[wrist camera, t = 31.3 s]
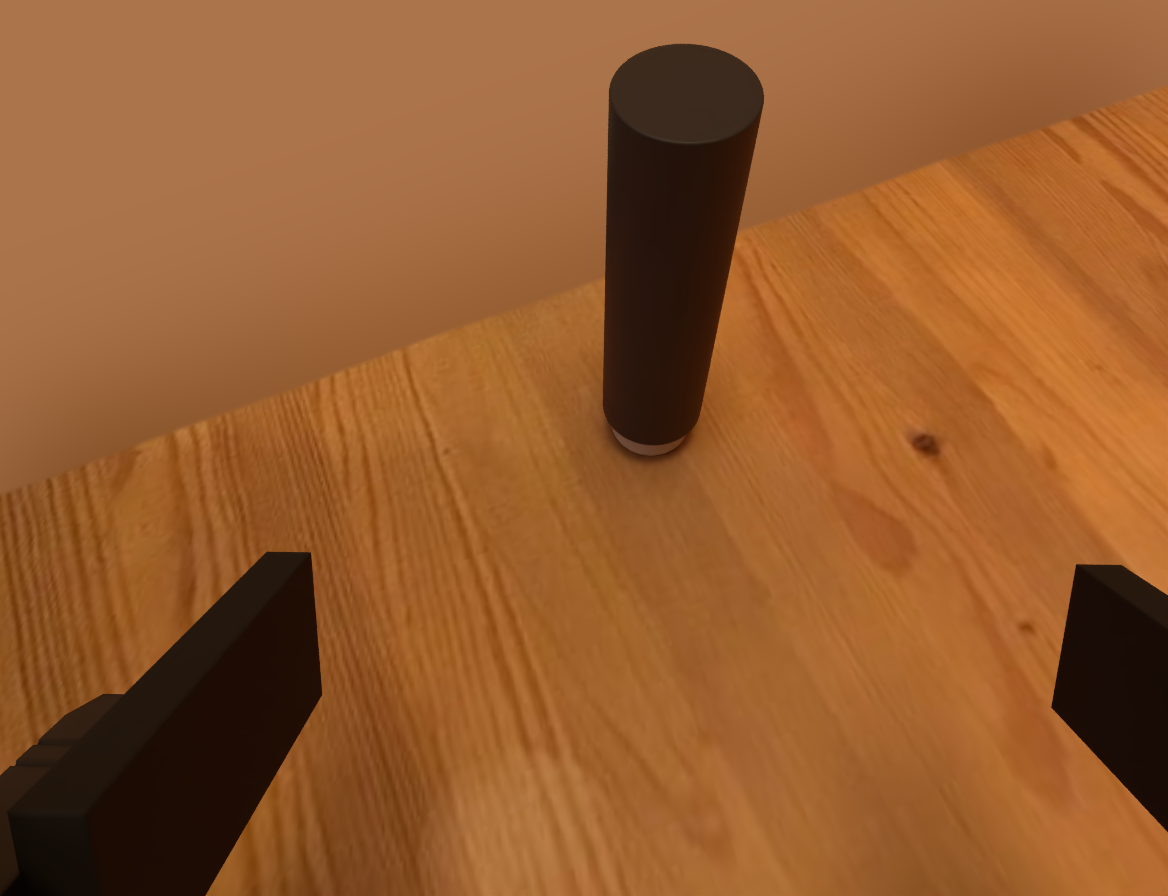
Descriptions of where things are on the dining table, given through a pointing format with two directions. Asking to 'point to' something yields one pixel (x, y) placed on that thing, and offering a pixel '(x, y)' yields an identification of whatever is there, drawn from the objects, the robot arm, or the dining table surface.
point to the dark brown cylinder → (671, 231)
